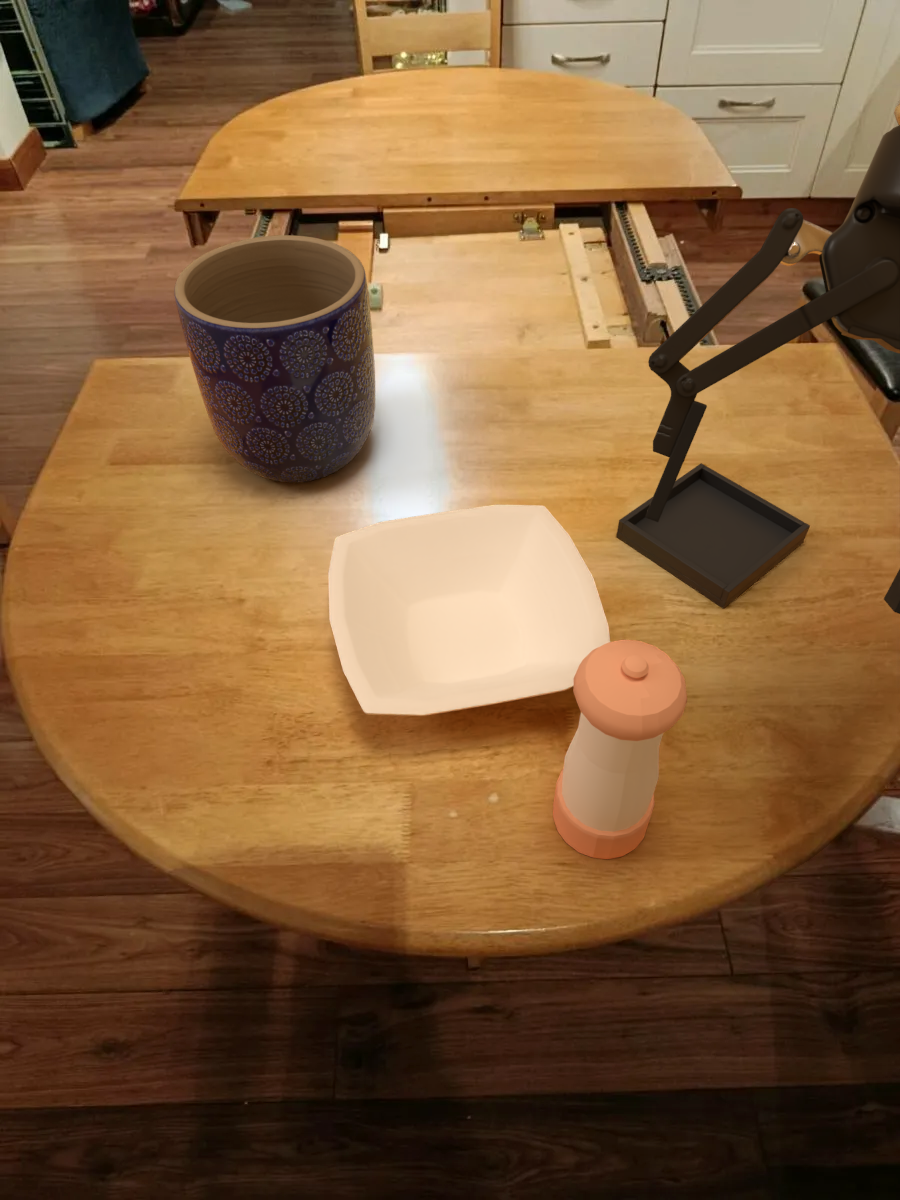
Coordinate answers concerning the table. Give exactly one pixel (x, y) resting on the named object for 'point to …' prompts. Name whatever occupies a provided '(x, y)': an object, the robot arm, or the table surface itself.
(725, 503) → the tray
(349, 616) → the bowl
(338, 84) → the table surface
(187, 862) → the table surface
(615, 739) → the pepper shaker
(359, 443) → the planter
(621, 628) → the table surface
